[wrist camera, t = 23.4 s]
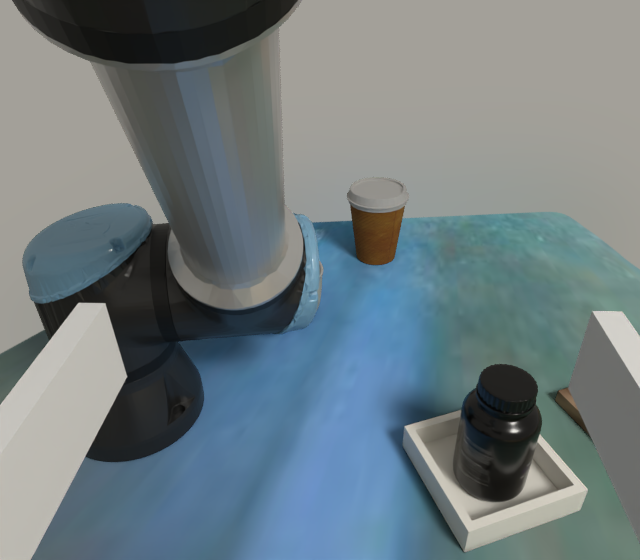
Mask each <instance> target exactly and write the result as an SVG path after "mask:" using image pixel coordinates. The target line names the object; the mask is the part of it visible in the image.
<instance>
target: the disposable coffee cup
mask: <svg viewBox="0 0 640 560" xmlns="http://www.w3.org/2000/svg"><path fill="white" fill-rule="evenodd" d="M347 198H348V201H349V203H350V205H351V214H352V222H353V229H354V238H355V245H356V254H357V258H358V259H359V260H360V261H362V262H364V263H367V264H371V265H381V264H386V263H389V262H391V261H392V260H393V259H394V257H395V252H396V247H397V242H398V237H399V232H400V227H401V222H402V217H403V212H404V207H405V205H406V203H407V201H408V198H409V195H408V193H407V191H406V186H405V185H404V184H403V183H401V182H400V181H397V180H394V179H390V178H383V177H372V178H365V179H361V180H358V181H356V182H354V183H353V184H352V185H351V187H350V190H349V192H348V193H347Z"/></svg>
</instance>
